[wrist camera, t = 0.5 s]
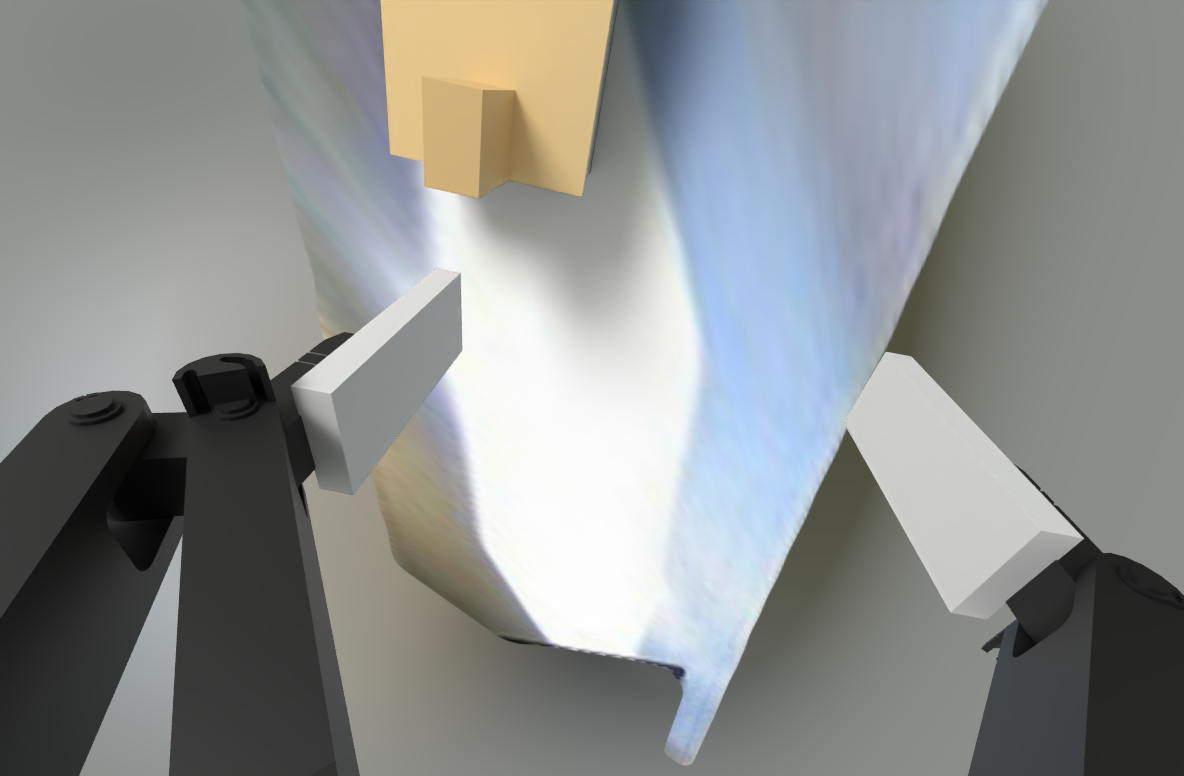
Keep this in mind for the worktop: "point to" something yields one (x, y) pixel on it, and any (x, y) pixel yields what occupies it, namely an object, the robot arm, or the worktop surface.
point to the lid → (495, 89)
